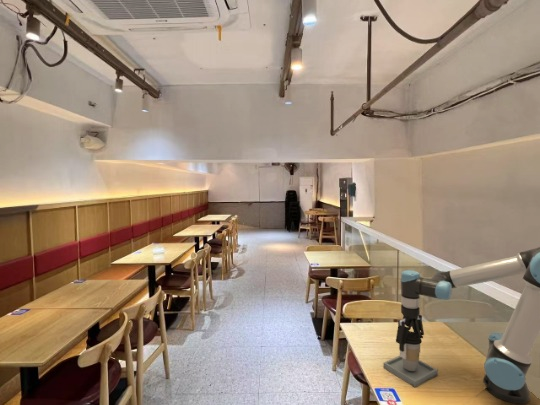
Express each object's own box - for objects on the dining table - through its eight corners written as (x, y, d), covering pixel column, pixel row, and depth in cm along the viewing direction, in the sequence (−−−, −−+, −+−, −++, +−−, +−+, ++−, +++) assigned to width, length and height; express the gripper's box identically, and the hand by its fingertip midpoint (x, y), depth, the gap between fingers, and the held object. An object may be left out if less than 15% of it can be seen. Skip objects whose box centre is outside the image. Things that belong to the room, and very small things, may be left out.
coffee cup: (424, 374, 129) (424, 341, 129) (401, 372, 131) (401, 339, 130) (418, 362, 138) (418, 330, 138) (396, 360, 140) (396, 329, 140)
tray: (437, 375, 132) (437, 369, 132) (415, 387, 124) (415, 381, 124) (405, 357, 146) (405, 352, 146) (383, 367, 138) (383, 362, 138)
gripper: (417, 298, 142) (417, 344, 143) (386, 307, 131) (386, 357, 132) (432, 303, 136) (432, 351, 137) (401, 313, 125) (401, 366, 126)
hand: (410, 354), depth 134 cm, fingers closed on coffee cup, 9 cm apart
